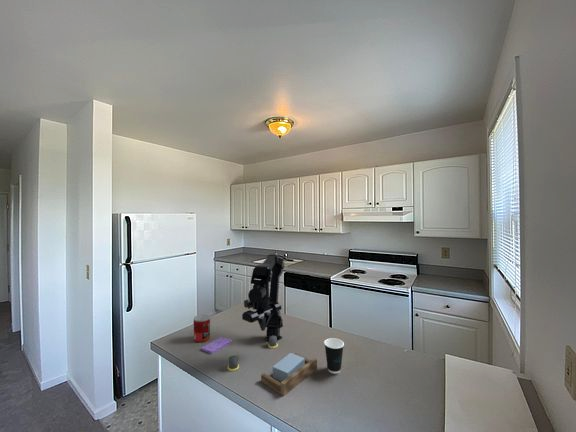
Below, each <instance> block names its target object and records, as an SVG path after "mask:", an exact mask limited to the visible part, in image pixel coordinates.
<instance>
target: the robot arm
mask: <svg viewBox="0 0 576 432" xmlns="http://www.w3.org/2000/svg"><path fill="white" fill-rule="evenodd" d="M284 269H285V262H284V260H283V258H281V257H279V255H278V254H268V255H267V257H266V258H265V259H264V261H263V262H262V263H260V264H256V265H255V266H254V268H253V269H252V273H251V279H250V285H252V288H251V289H250V290H249V291H248V294H247V296H248V299H245V300H244V301H243V306H244V308H245V309H246V308H247V309H248V310H247V311H244V312H242V315H241V316H242V317H241V319H242V320H243V321H245V322H248V323H255V322H256V321H257V323H258V325H259V327H260V330H261V331H262V332H264V331H266V336H265V337H264V339H265V340H268V341H269V337H270V336H276V337H277V341H279V340H281V339H282V338H283V336H281V328H283V327H284V323H283V318H282V316H281V310H282V304H281V303H280V302H279V292H280V278H281V276H282V275H283V273H284ZM250 309H252V310H250ZM253 310H254V311H253Z"/></svg>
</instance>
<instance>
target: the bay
mask: <svg viewBox="0 0 576 432" xmlns="http://www.w3.org/2000/svg"><path fill="white" fill-rule="evenodd" d="M293 354H295V355H298V356H300V357H303V358H305V365H304V366H302V367H301V368H300V369H298V370H297V371H296V372H294V373H293V374H292V375H290V376H289V377H287V378H286V379H285V380H283V381H282V382H281V381H279V380H277V379H275V378H273V376H270V375H268V374H266V373H265V372H264V373H262V374H261V375H260V379H261V380H260V383H263V384H264V385H266V386H268V387H269V388H271V389H272V390H274V391H275V392H277V393H278V394H280V395H281V396H283V397H284V396H286V395H287V394H288V393H290V392H291V391H292V390H293V389H294V388H296V387H297V386H298V385H299V384H300V383H302V382H303V381H304V380H306V379H307V378H308V377H309V376H311V375H312V374H313V373H314V372H316V371H317V370H318V359H317V358H314V357H313V358H312V359H309V358H307V357H305V356H302V355H300V354H298V353H296V352H293Z"/></svg>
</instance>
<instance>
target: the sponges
mask: <svg viewBox="0 0 576 432" xmlns="http://www.w3.org/2000/svg"><path fill="white" fill-rule="evenodd" d="M231 343H232V339H230V338H225V337H223V336H220V337H218V338H216V339H214V340H212V341H211V342H209V343H207V344H205V345H203V346H202V347H201V351H203V352H204V353H208V354H210V355H213V354H214V353H216V352H218V351H221V350H222V349H223V348H225V347H226V346H228V345H230V344H231Z"/></svg>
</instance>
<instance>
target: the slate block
mask: <svg viewBox="0 0 576 432" xmlns="http://www.w3.org/2000/svg"><path fill="white" fill-rule="evenodd" d="M298 355H299V354H298ZM298 355H295V354H294V352H293V353H292V352H290V353H288V354H287V355H286V356H285V357H283V358H282V359H281V360H279V361H278V362H276V364H274V365H273V366H272V378H273V379H275V380H277V381H278V382H280V383H281V382H282V381H283V380H285V379H286V378H287V377H289V376H290V375H292V374H293V373H294V372H296V371H297V370H298V369H300V368H301V367H302V366H304V365H305V358H306V357H305V358H303V357H304V356H303V357H300V356H298Z"/></svg>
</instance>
